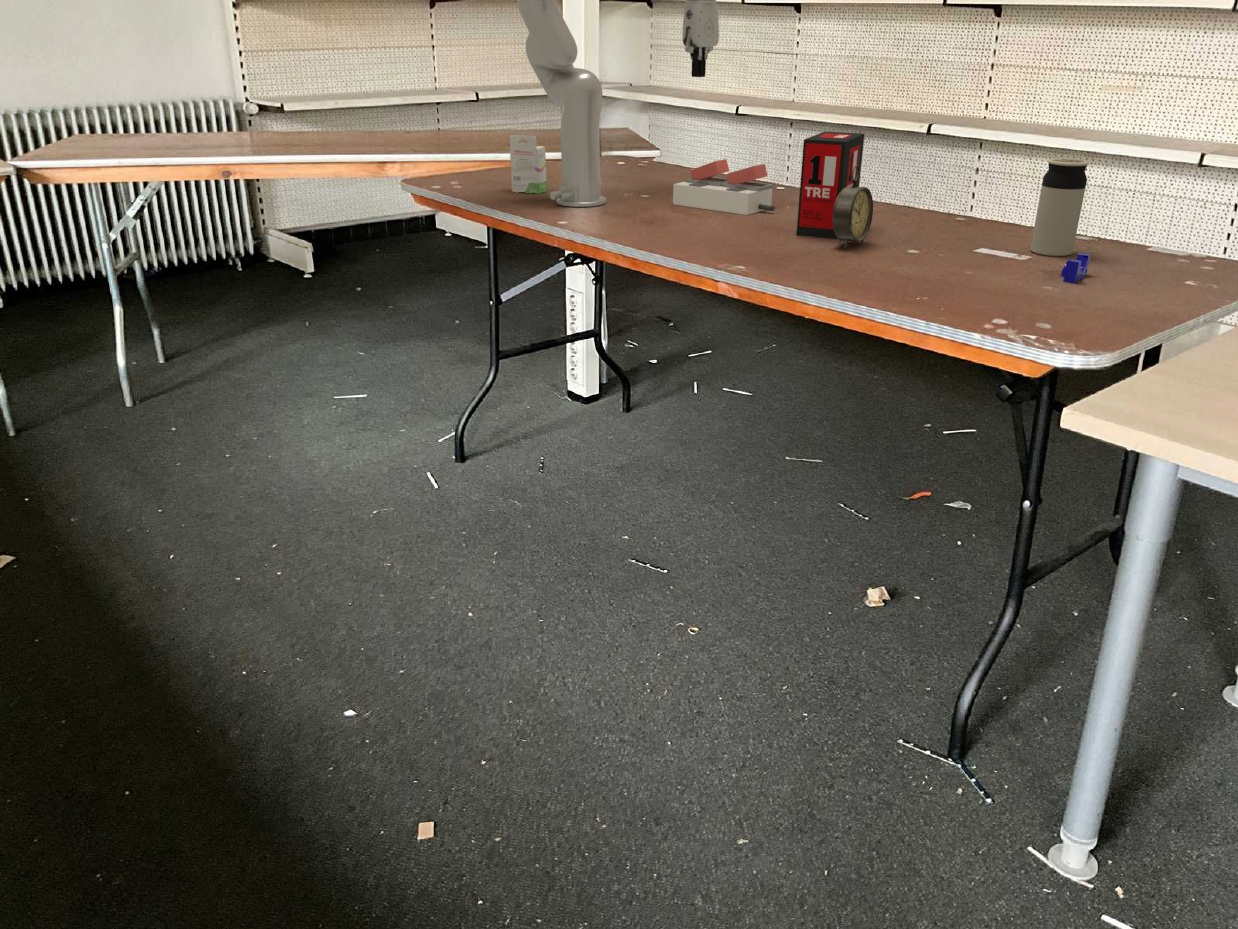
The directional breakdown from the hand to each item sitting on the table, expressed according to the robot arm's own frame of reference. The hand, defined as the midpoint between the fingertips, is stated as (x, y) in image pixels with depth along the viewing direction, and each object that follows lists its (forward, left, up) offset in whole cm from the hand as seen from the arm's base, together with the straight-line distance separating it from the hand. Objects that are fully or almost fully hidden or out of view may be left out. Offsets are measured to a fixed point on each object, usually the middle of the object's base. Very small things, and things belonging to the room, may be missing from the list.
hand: (698, 76), depth 248 cm
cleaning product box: (-20, -50, -29) cm, 61 cm away
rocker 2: (-9, -22, -22) cm, 32 cm away
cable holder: (-30, -105, -30) cm, 113 cm away
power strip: (-11, -18, -29) cm, 36 cm away
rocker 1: (-9, -11, -22) cm, 26 cm away
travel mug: (-11, -96, -29) cm, 101 cm away
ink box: (-26, +36, -29) cm, 53 cm away
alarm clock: (-31, -61, -29) cm, 74 cm away
